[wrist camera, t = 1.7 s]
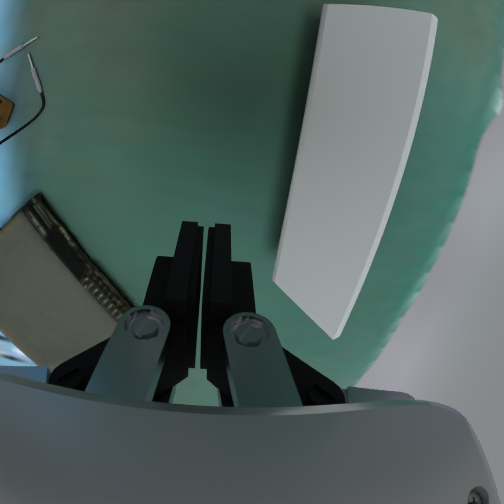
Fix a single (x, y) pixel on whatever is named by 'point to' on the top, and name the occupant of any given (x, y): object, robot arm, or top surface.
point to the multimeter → (3, 107)
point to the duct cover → (351, 153)
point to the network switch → (51, 290)
